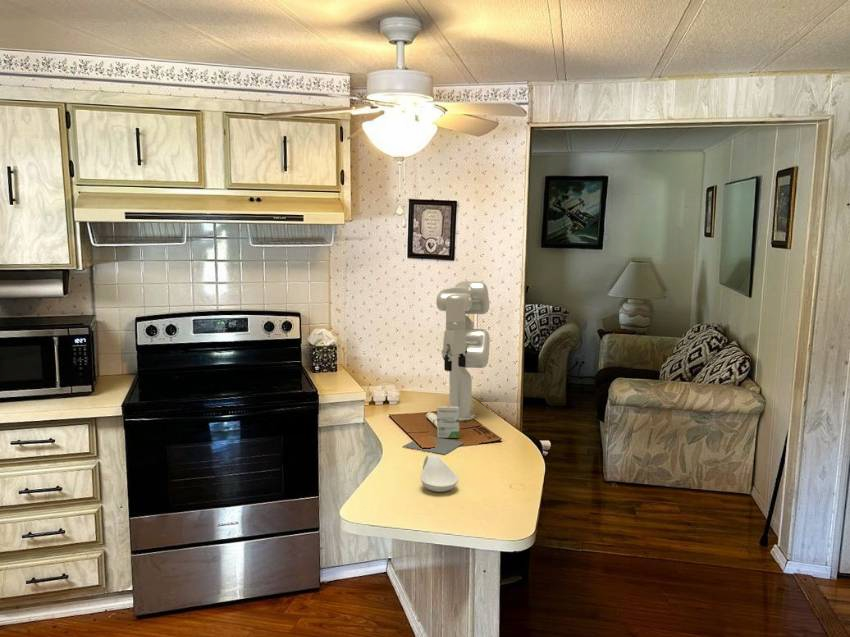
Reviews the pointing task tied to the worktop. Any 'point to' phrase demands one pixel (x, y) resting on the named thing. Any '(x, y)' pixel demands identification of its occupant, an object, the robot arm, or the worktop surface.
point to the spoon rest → (437, 475)
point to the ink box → (447, 422)
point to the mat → (438, 446)
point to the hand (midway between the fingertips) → (455, 368)
